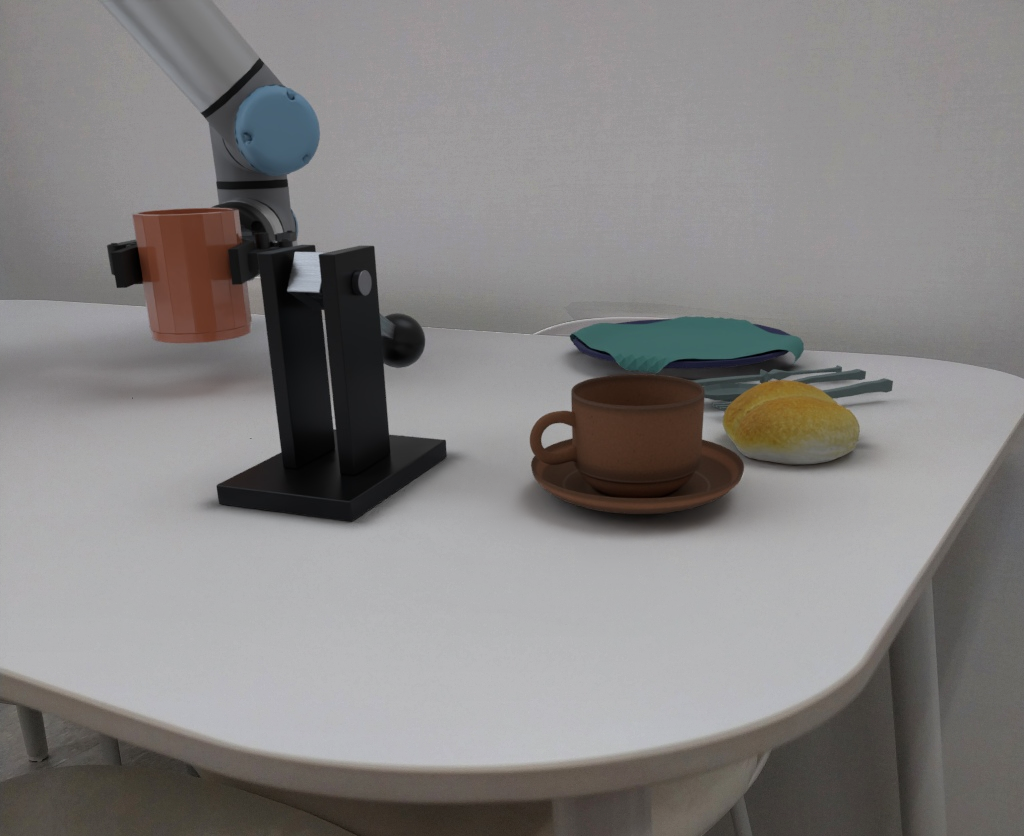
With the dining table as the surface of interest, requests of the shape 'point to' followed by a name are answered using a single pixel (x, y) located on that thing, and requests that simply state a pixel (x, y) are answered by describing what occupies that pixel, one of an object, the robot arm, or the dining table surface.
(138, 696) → the dining table surface
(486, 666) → the dining table surface
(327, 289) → the black stand
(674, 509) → the cup and saucer
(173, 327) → the cup
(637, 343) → the cutlery set
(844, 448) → the bread roll
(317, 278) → the lever
